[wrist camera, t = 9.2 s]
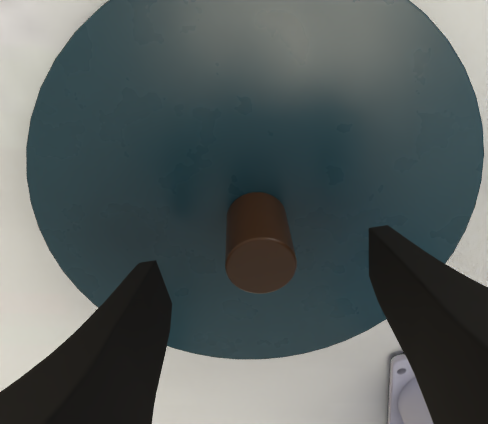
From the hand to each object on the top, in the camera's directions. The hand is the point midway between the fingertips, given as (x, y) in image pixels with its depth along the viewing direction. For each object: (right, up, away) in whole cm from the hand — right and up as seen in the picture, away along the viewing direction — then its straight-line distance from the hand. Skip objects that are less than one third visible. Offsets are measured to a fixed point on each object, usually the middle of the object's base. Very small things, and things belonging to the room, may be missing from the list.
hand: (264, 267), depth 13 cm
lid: (0, +2, +3) cm, 4 cm away
